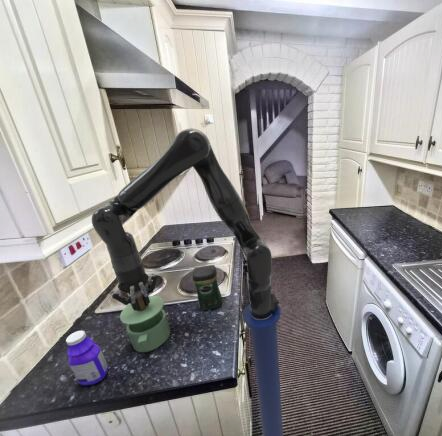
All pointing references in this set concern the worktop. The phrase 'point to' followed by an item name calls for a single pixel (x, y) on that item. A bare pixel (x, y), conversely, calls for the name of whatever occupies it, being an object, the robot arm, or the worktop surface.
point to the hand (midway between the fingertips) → (142, 307)
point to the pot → (149, 333)
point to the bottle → (86, 359)
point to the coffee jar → (207, 287)
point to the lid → (142, 310)
